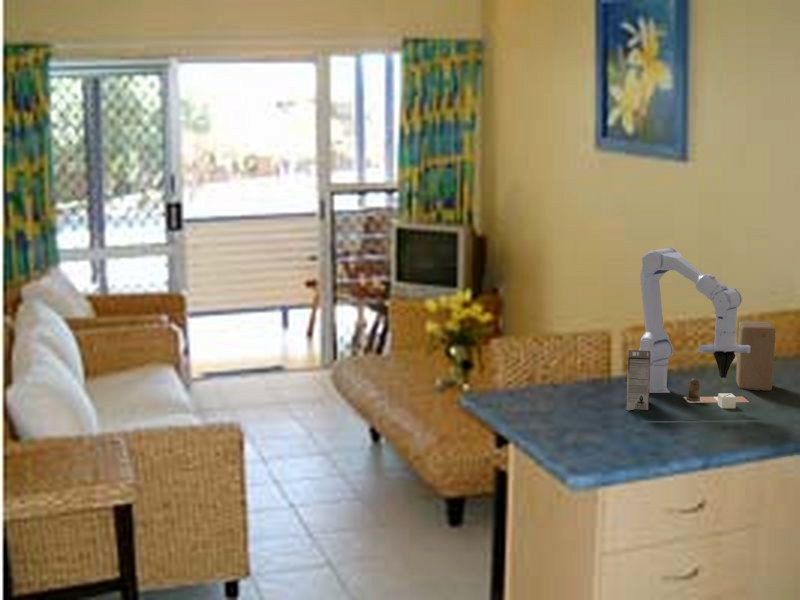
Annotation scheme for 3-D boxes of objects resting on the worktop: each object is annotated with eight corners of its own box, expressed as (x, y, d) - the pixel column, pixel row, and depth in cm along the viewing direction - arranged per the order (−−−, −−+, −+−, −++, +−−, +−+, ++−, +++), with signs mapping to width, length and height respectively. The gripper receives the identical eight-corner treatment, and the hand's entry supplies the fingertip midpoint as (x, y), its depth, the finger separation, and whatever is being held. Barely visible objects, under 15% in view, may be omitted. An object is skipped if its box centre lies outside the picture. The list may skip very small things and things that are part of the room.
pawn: (688, 401, 332) (689, 380, 330) (685, 397, 335) (686, 376, 334) (701, 401, 332) (702, 380, 330) (697, 397, 335) (698, 376, 334)
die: (721, 410, 325) (722, 397, 324) (717, 406, 329) (718, 393, 328) (735, 410, 325) (736, 397, 324) (731, 406, 329) (731, 393, 328)
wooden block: (772, 391, 344) (776, 328, 340) (738, 390, 346) (741, 326, 342) (768, 383, 354) (772, 321, 350) (735, 381, 355) (738, 320, 352)
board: (688, 404, 331) (688, 402, 330) (683, 398, 337) (683, 396, 336) (749, 404, 331) (749, 402, 331) (742, 398, 337) (742, 396, 337)
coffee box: (626, 401, 333) (628, 349, 330) (648, 403, 332) (650, 350, 329) (626, 410, 325) (628, 356, 322) (648, 411, 323) (651, 357, 320)
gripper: (704, 334, 318) (701, 380, 321) (755, 333, 319) (752, 380, 321) (697, 328, 325) (695, 374, 328) (747, 328, 326) (744, 374, 328)
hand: (722, 376), depth 325 cm, fingers closed
